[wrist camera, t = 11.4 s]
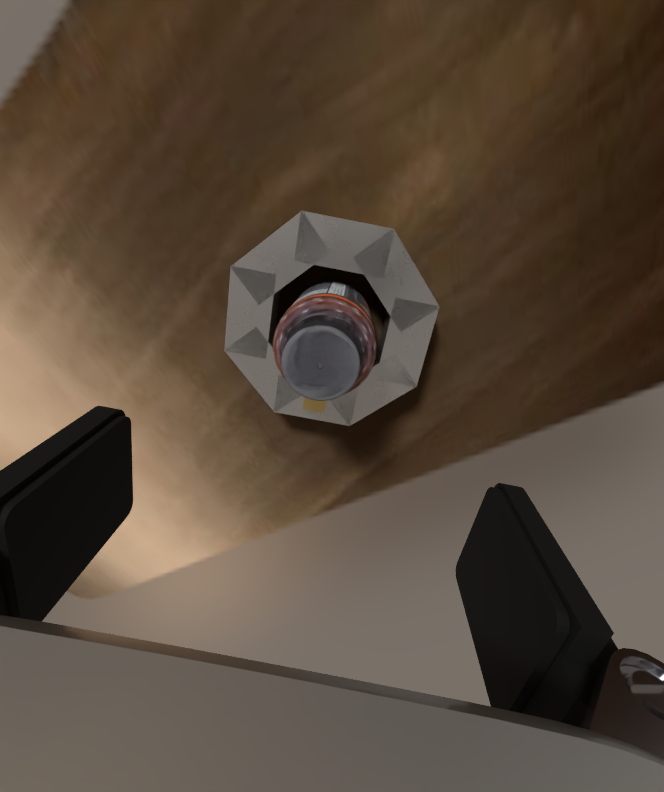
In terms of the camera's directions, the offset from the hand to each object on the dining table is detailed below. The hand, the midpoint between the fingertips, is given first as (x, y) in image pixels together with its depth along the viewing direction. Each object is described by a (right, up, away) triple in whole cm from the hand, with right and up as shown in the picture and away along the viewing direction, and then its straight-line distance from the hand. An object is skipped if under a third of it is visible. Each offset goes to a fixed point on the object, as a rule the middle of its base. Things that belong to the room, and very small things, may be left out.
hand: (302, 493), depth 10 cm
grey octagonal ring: (+1, +8, +20) cm, 21 cm away
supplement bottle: (+1, +8, +20) cm, 22 cm away
